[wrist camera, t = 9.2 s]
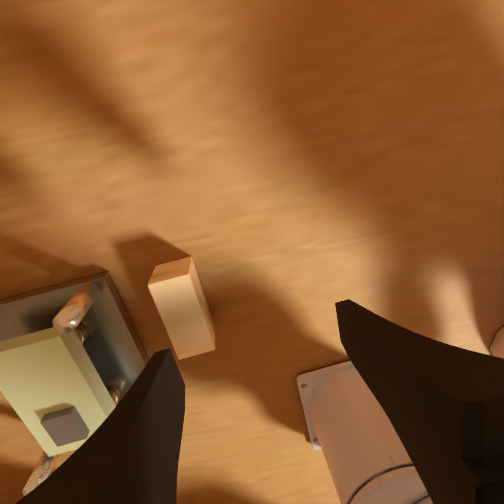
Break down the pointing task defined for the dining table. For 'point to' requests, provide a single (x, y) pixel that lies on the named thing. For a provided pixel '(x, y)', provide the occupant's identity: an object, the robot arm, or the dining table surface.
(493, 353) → the figurine
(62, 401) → the board
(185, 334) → the block
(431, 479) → the robot arm
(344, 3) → the dining table surface
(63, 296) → the chassis
